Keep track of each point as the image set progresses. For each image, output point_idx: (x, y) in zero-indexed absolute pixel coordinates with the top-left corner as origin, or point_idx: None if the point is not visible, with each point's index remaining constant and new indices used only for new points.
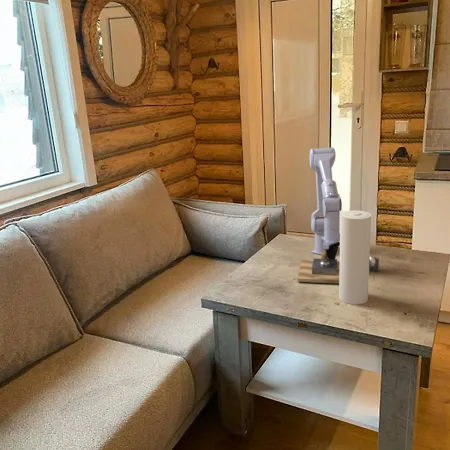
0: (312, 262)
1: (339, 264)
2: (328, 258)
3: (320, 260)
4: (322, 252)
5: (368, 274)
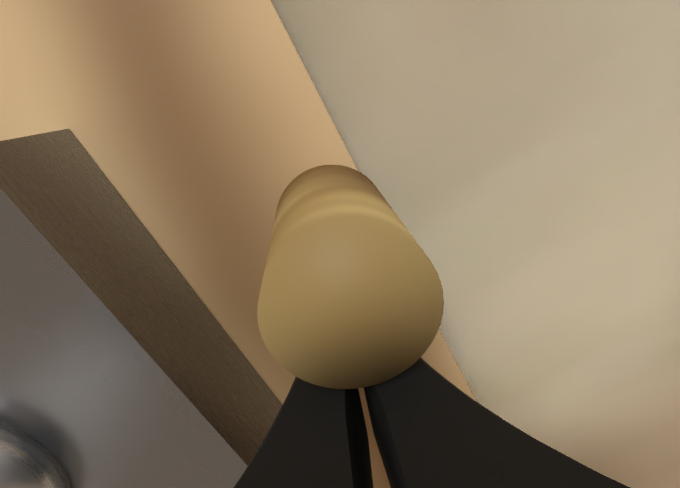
0: (142, 44)
1: None
2: None
3: (12, 354)
4: (296, 277)
5: None
